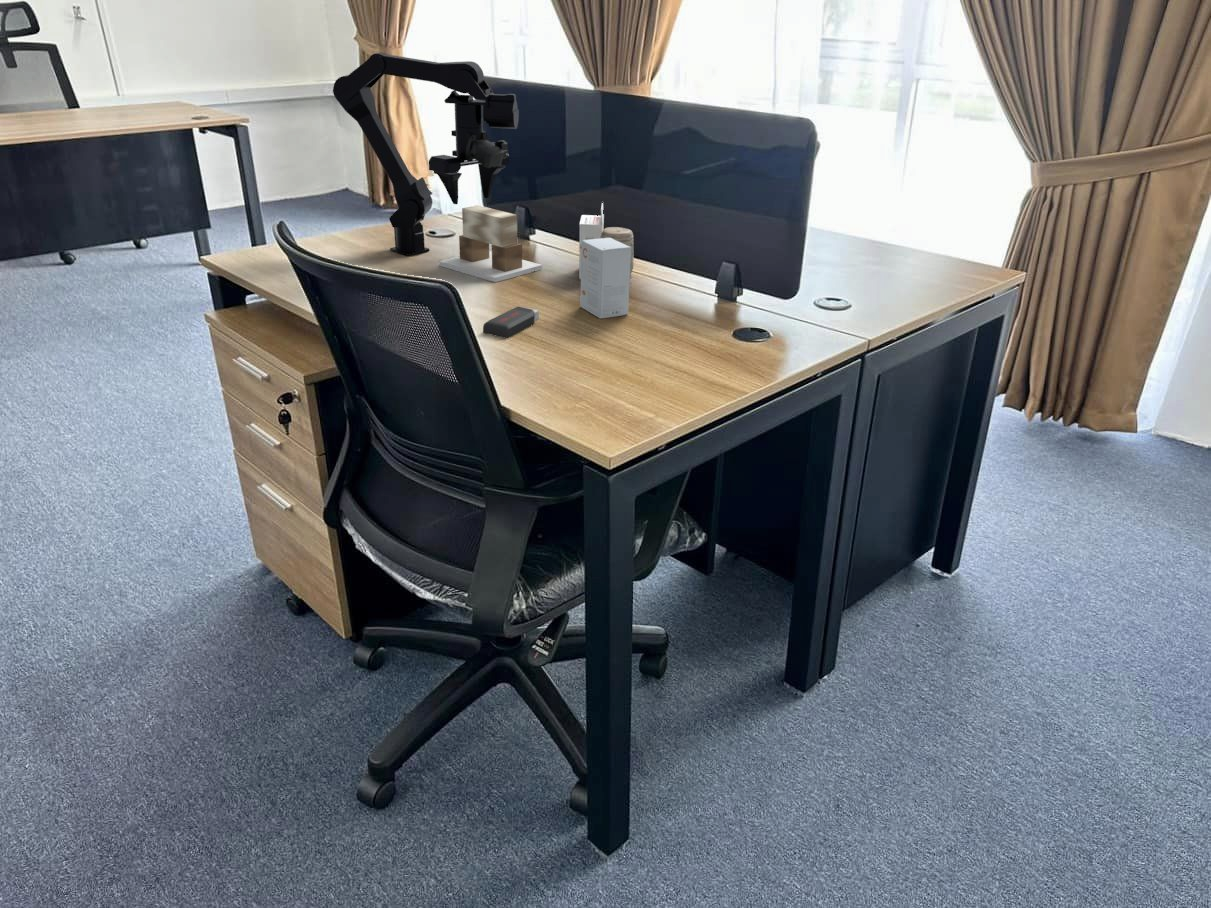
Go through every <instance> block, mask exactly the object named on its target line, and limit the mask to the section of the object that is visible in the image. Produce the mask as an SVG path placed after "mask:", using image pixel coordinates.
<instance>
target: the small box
mask: <svg viewBox="0 0 1211 908" xmlns="http://www.w3.org/2000/svg"><path fill="white" fill-rule="evenodd" d="M630 262H631V247H629V246H627V245H625V244H623V243H621V242H618V241H616V240H614V239H612V238H600V239H589V240H582V259H581V279H580V297H579V299H580V303H579V307H580V308H582V309H583V310H586V311H587V312H588V313H590V314H592V315H593V316H595V317H597V318H599V319H606V318H607V319H608V318H615V317H620V316H627V315H629V306H630V305H629V304H630V301H629V300H630V285H631V279H630ZM629 284H630V285H629ZM626 314H627V315H626Z"/></svg>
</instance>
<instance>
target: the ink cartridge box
mask: <svg viewBox="0 0 1211 908" xmlns="http://www.w3.org/2000/svg"><path fill="white" fill-rule="evenodd" d="M600 207H601V208H600V215H598V216H597V215H596V214H594V215H591V214H582V215H581V216H580V220H579V225H578V226H579V242H578V243H579V253H578V254H579V255H578V256H579V257H578V258H579V259H578V262H579V268H578V269H579V270H578V280H581V259H582V240H589V239H600V238H601V233H602V232H603V230H604V229H605V228H604V226H605V224H604V223H605V220H604V219H605V213H604V214H603V210H604V202H603V203H602V202H601V206H600Z"/></svg>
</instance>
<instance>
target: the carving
mask: <svg viewBox="0 0 1211 908" xmlns="http://www.w3.org/2000/svg"><path fill="white" fill-rule="evenodd" d="M601 238H612V239H614V240H616V241H618V242H621V243H623V244H625V245H627V246H629V247H631V262H630V280H631V279H632V273H633V270H634V262H635V261H634V260H635V259H634V257H635V256H634V254H635V253H634V249H635V248H634V233H633V231H632V230H631V229H629V228H625V227H618V226H611V227H610V226H609V227H605V228H603V232H602V233H601ZM630 285H631V283H630V284H629V286H630Z"/></svg>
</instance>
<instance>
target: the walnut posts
mask: <svg viewBox="0 0 1211 908" xmlns="http://www.w3.org/2000/svg"><path fill="white" fill-rule="evenodd" d="M458 241H459V244H458V245H459V246H458V247H459V256H460V259H462V260H466V261H469V262H476V261H480V260H484V259H488V258H489V251H490V244H488V243H485V242H481V241H478V240H474V239H470V238H467V237H463V234H461V235H459V236H458ZM491 251H492V268H494V269H497V270H500V271H504V272H507V271H511V270H515V269H518V268H522V260H523V243H519V242H517V244H514V245H509V246H505V247H499V246H496V245H492V244H491Z"/></svg>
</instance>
